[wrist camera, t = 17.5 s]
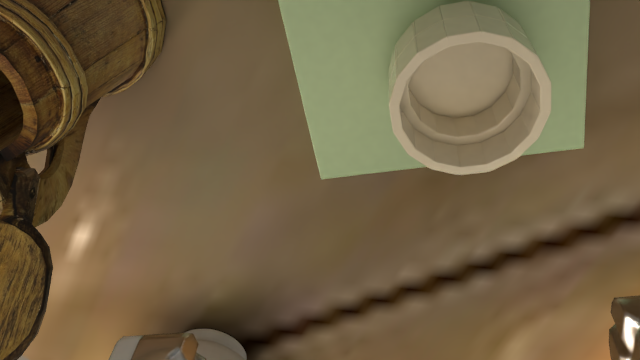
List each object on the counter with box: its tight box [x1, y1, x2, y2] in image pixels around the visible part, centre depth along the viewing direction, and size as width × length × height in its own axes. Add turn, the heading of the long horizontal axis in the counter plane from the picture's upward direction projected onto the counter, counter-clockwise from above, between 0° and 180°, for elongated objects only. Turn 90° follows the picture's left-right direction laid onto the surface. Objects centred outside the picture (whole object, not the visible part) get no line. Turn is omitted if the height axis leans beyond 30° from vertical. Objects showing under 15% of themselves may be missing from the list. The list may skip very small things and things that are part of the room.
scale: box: [278, 0, 590, 179], centre depth 28 cm, size 16×14×4 cm
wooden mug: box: [0, 0, 166, 360], centre depth 25 cm, size 9×14×18 cm, turn 7°
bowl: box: [389, 1, 552, 175], centre depth 27 cm, size 7×7×4 cm
